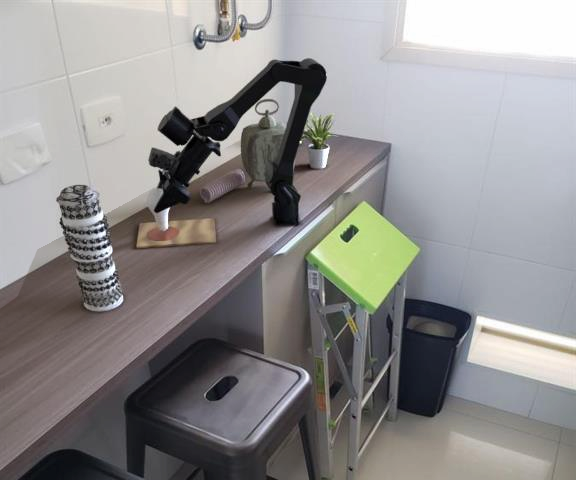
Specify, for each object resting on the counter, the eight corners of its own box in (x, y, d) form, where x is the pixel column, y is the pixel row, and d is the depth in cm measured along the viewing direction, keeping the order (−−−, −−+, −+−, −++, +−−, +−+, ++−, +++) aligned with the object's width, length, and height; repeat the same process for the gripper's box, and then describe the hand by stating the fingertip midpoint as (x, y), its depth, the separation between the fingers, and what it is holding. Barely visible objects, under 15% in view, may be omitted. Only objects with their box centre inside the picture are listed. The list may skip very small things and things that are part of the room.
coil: (210, 190, 165) (247, 170, 177) (197, 185, 167) (234, 165, 179) (210, 205, 168) (246, 185, 180) (197, 200, 170) (234, 180, 182)
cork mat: (214, 219, 161) (213, 217, 160) (216, 242, 150) (215, 240, 150) (139, 224, 159) (139, 222, 158) (136, 248, 148) (136, 246, 148)
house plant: (313, 154, 200) (313, 102, 190) (348, 162, 194) (350, 109, 183) (288, 166, 191) (288, 113, 181) (324, 175, 185) (325, 120, 174)
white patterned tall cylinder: (110, 315, 124) (82, 201, 108) (73, 308, 127) (41, 195, 111) (133, 294, 131) (110, 183, 115) (98, 287, 133) (70, 178, 117)
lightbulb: (180, 230, 153) (174, 188, 146) (161, 238, 149) (154, 196, 142) (165, 223, 156) (159, 182, 149) (147, 231, 153) (139, 189, 146)
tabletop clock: (288, 180, 182) (287, 93, 166) (297, 191, 175) (297, 101, 159) (242, 186, 179) (237, 97, 163) (250, 197, 172) (246, 106, 156)
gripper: (161, 124, 146) (124, 174, 151) (168, 148, 132) (128, 202, 137) (196, 153, 152) (160, 200, 157) (207, 179, 138) (167, 229, 143)
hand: (154, 206), depth 148 cm, fingers closed on lightbulb, 6 cm apart
